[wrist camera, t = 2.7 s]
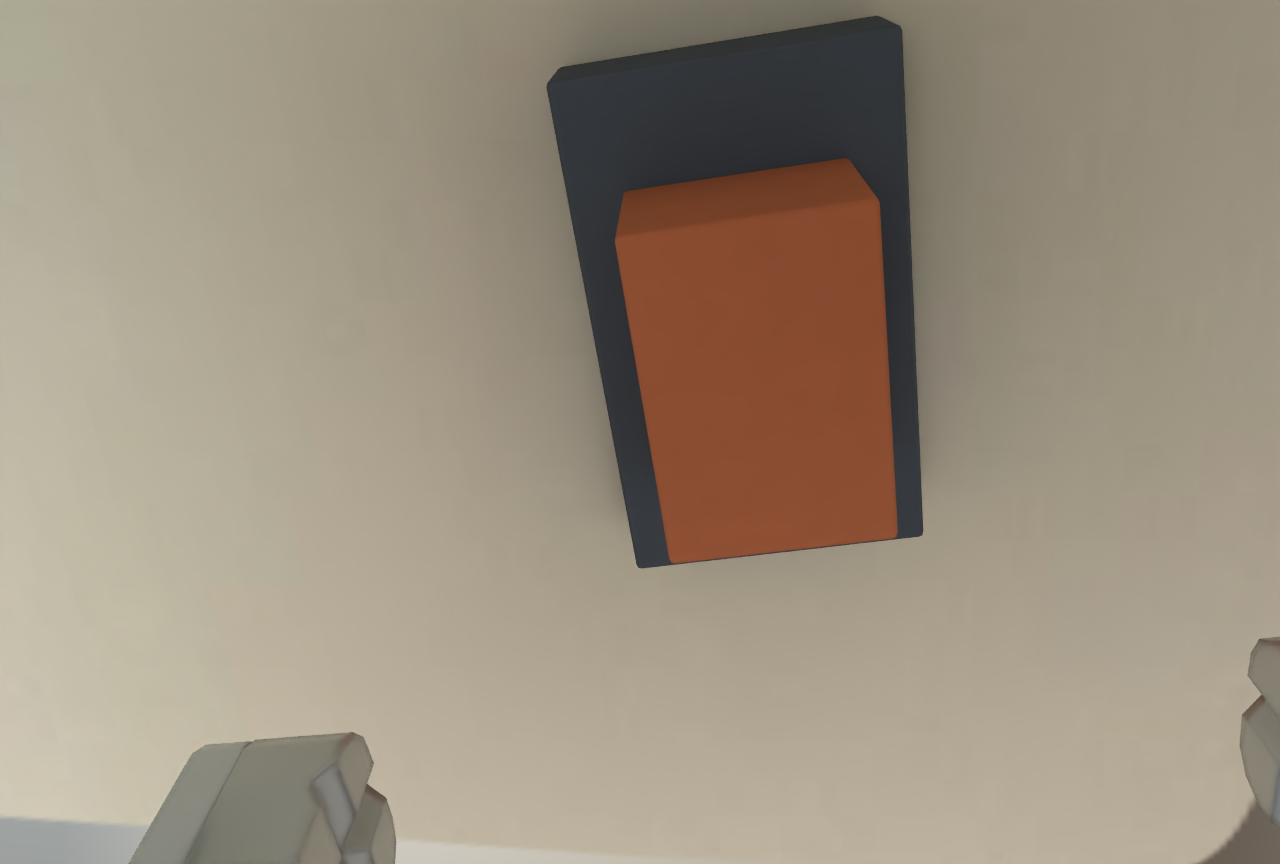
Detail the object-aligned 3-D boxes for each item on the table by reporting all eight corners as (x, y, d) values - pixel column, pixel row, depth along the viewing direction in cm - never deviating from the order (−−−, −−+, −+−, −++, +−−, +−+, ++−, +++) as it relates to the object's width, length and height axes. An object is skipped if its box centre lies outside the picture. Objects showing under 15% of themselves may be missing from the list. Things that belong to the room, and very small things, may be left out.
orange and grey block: (880, 15, 19) (945, 44, 14) (905, 489, 23) (960, 626, 19) (557, 67, 19) (521, 111, 15) (640, 521, 24) (631, 661, 19)
